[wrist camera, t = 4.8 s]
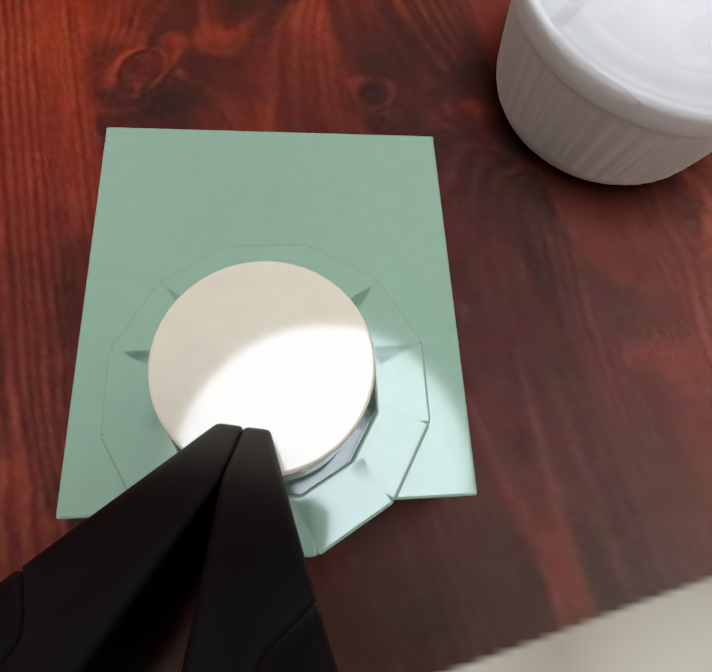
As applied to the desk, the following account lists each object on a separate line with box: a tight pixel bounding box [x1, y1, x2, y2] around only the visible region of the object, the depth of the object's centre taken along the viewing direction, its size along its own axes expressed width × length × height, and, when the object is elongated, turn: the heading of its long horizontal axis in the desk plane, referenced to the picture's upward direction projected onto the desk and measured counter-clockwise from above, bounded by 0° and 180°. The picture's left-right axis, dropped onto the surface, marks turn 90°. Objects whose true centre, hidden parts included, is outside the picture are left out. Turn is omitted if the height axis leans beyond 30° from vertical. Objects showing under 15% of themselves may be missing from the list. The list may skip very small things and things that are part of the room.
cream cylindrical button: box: [147, 261, 375, 482], centre depth 10 cm, size 4×4×2 cm
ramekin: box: [496, 0, 712, 185], centre depth 20 cm, size 11×11×5 cm
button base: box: [56, 127, 477, 558], centre depth 14 cm, size 12×10×6 cm
